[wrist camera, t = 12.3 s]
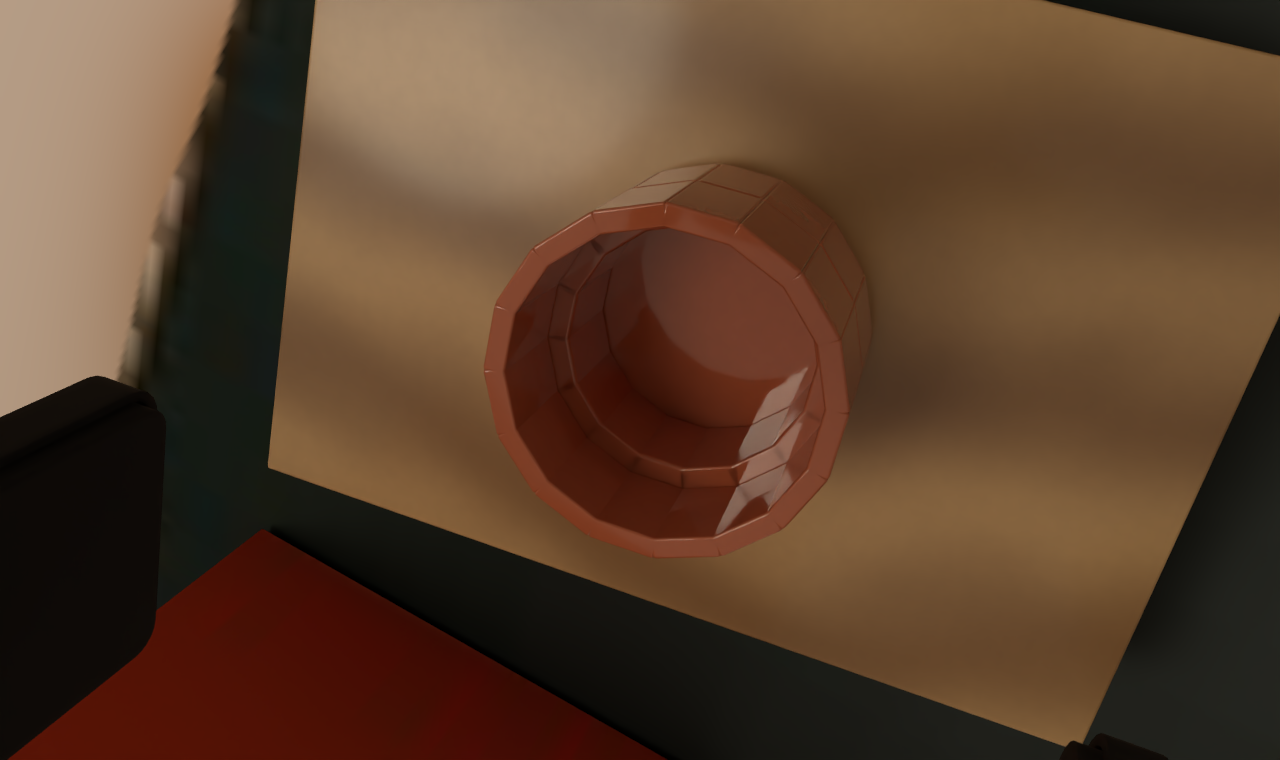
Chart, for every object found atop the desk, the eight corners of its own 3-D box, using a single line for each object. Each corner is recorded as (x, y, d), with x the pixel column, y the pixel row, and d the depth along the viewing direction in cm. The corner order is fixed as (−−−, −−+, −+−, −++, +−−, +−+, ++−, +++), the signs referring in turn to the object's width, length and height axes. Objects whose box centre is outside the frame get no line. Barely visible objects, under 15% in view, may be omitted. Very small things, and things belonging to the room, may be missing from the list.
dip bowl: (609, 125, 25) (518, 160, 20) (913, 209, 24) (896, 267, 19) (552, 402, 28) (459, 493, 23) (823, 490, 27) (788, 606, 22)
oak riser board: (431, -144, 29) (331, -168, 25) (1315, 64, 26) (1388, 81, 21) (357, 406, 35) (266, 468, 31) (1064, 642, 32) (1079, 753, 27)
